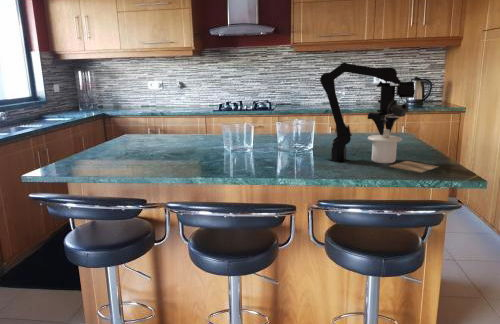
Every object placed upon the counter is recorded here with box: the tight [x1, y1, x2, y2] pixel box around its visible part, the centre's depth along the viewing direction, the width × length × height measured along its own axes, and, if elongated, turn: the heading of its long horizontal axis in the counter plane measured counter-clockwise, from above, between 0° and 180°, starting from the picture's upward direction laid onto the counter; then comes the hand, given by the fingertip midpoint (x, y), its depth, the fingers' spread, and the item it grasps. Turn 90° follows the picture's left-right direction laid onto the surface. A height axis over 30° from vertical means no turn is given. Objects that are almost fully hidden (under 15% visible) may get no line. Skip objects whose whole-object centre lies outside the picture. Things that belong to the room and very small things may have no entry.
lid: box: [367, 128, 403, 143], centre depth 168 cm, size 14×14×4 cm
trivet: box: [389, 160, 439, 174], centre depth 160 cm, size 14×14×1 cm
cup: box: [371, 141, 398, 164], centre depth 170 cm, size 10×10×10 cm
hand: (385, 134), depth 168 cm, fingers open, 5 cm apart
